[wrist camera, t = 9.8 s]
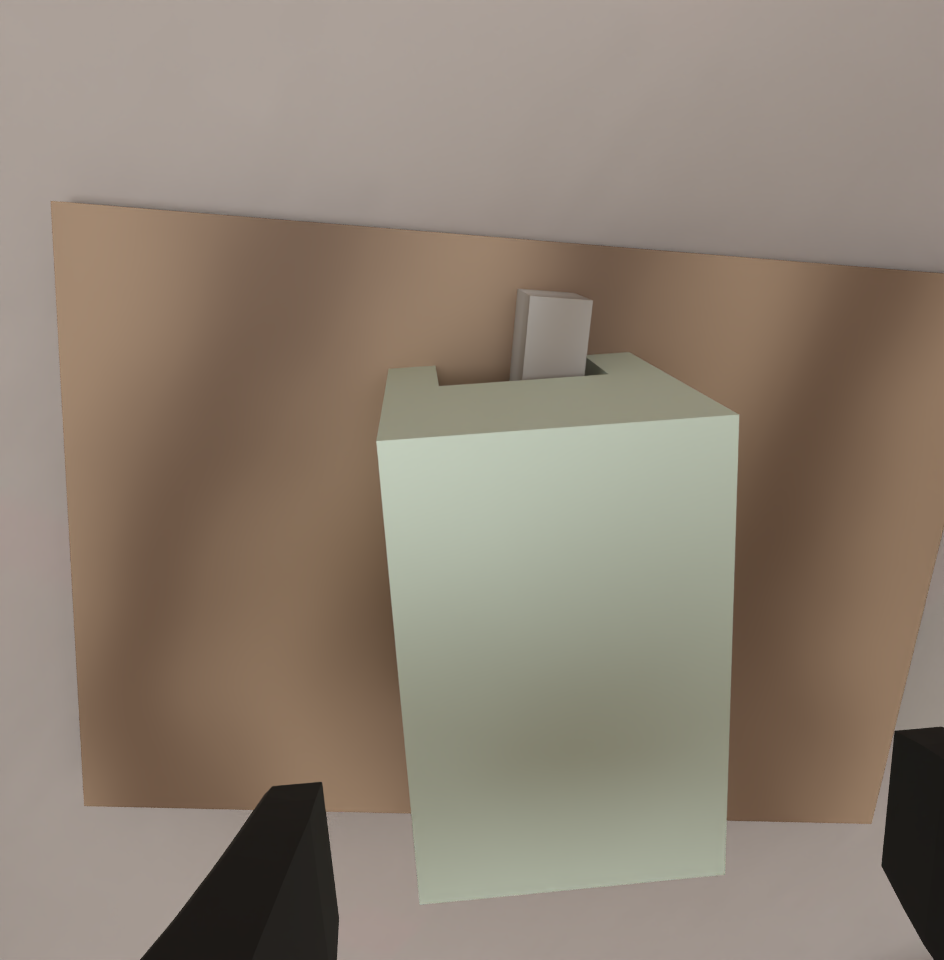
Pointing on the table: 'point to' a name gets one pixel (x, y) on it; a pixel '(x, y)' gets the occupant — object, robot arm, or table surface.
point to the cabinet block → (561, 625)
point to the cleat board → (358, 502)
